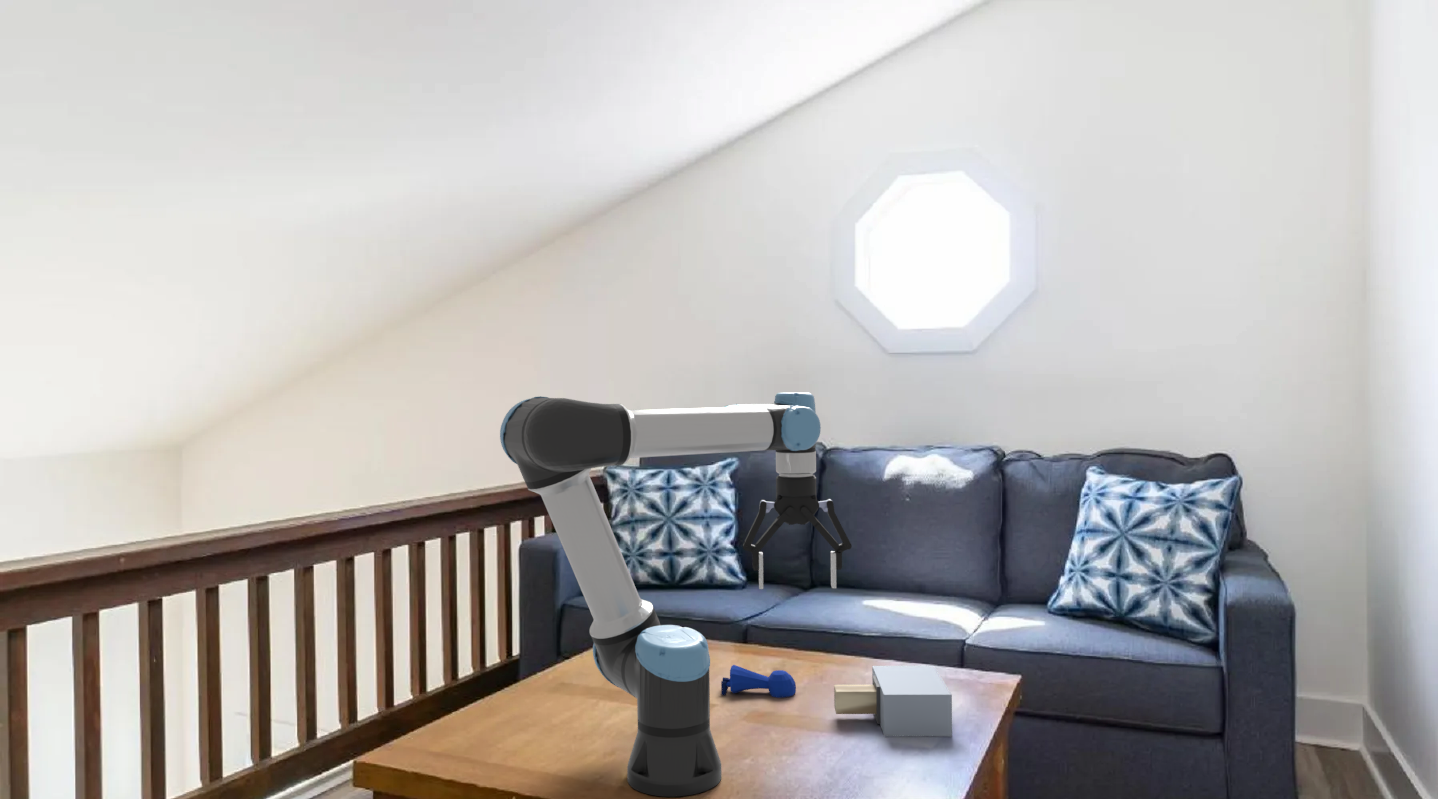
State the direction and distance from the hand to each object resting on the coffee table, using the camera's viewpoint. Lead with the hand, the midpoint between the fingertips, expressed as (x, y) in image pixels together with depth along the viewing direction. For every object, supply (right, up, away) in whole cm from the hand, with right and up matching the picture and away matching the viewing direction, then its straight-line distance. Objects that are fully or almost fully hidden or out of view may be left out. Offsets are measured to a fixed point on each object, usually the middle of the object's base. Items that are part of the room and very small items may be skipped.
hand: (797, 587), depth 190 cm
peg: (+15, -23, -1) cm, 27 cm away
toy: (-7, -25, +16) cm, 31 cm away
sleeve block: (+21, -25, -1) cm, 32 cm away
